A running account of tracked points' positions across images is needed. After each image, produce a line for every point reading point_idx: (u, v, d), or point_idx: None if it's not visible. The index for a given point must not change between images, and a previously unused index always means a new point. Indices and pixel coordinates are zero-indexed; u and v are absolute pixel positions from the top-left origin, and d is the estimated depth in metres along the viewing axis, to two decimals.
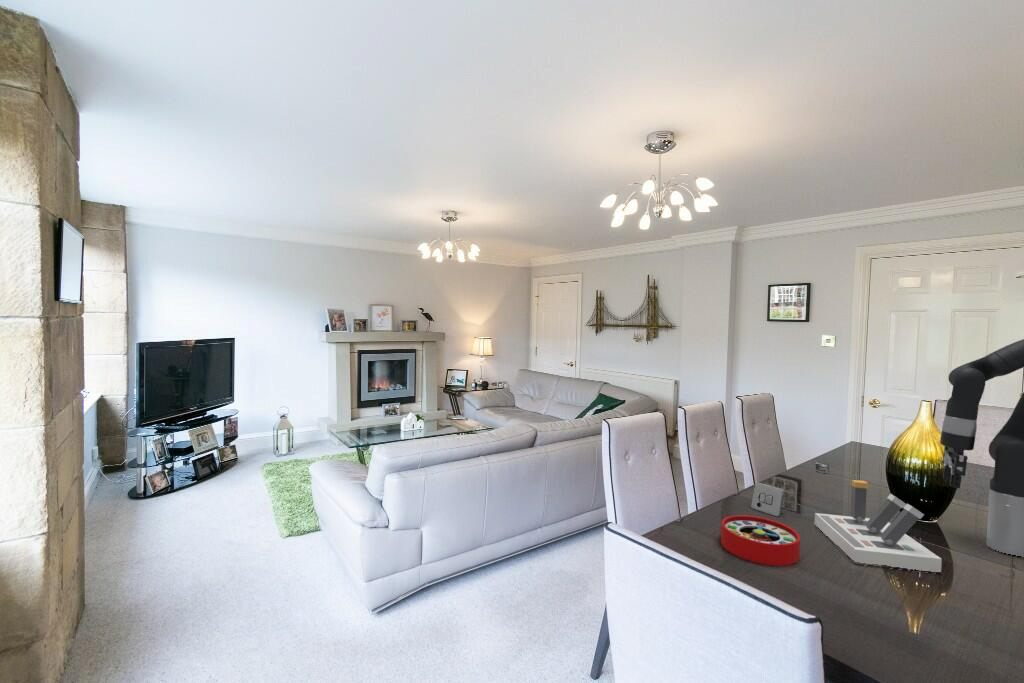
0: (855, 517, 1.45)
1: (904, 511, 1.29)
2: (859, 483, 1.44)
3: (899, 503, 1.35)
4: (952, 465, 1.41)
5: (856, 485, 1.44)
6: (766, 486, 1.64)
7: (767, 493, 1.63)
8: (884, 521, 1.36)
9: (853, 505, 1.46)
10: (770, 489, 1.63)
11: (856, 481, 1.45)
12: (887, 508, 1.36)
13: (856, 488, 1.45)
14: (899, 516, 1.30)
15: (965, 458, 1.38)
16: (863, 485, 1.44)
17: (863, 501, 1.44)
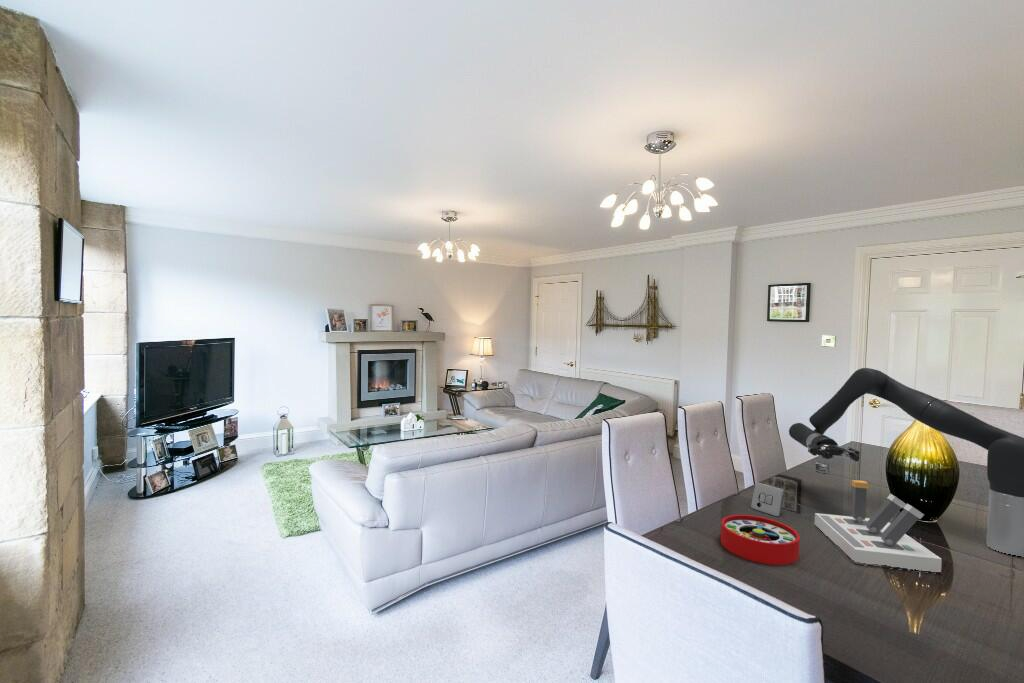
0: (855, 517, 1.45)
1: (904, 511, 1.29)
2: (859, 483, 1.44)
3: (899, 503, 1.35)
4: None
5: (856, 485, 1.44)
6: (766, 486, 1.64)
7: (767, 493, 1.63)
8: (884, 521, 1.36)
9: (853, 505, 1.46)
10: (770, 489, 1.63)
11: (856, 481, 1.45)
12: (887, 508, 1.36)
13: (856, 488, 1.45)
14: (899, 516, 1.30)
15: (808, 445, 1.67)
16: (863, 485, 1.44)
17: (863, 501, 1.44)
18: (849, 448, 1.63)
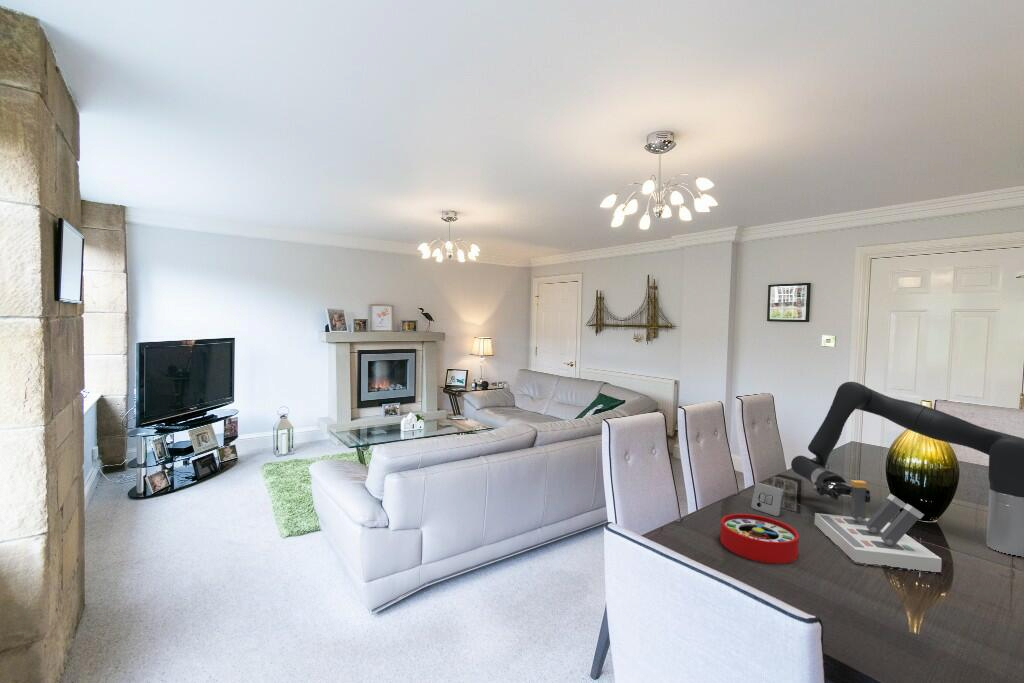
0: (855, 517, 1.45)
1: (904, 511, 1.29)
2: (858, 483, 1.44)
3: (899, 503, 1.35)
4: None
5: (855, 485, 1.45)
6: (766, 486, 1.64)
7: (767, 493, 1.63)
8: (884, 521, 1.36)
9: (853, 505, 1.46)
10: (770, 489, 1.63)
11: (855, 481, 1.45)
12: (887, 508, 1.36)
13: (855, 488, 1.45)
14: (899, 516, 1.30)
15: (814, 483, 1.55)
16: (862, 485, 1.44)
17: (863, 501, 1.44)
18: None
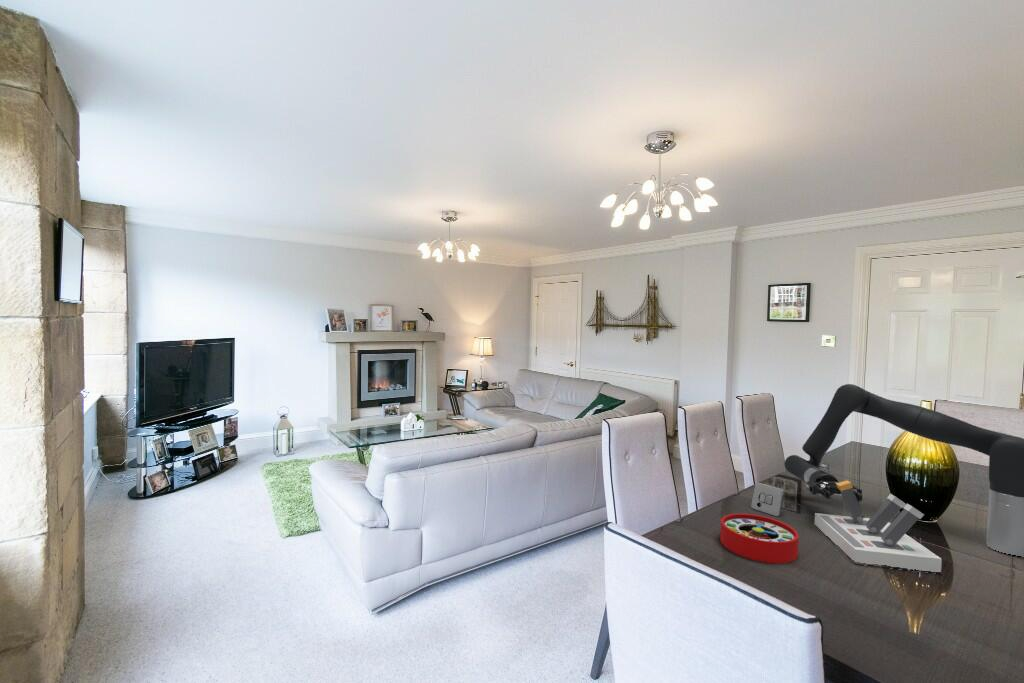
0: (855, 519, 1.45)
1: (904, 511, 1.29)
2: (843, 485, 1.45)
3: (899, 503, 1.35)
4: None
5: (841, 488, 1.45)
6: (766, 486, 1.64)
7: (767, 493, 1.63)
8: (884, 521, 1.36)
9: (848, 507, 1.46)
10: (770, 489, 1.63)
11: (840, 484, 1.46)
12: (887, 508, 1.36)
13: (843, 491, 1.45)
14: (899, 516, 1.30)
15: (807, 483, 1.55)
16: (847, 486, 1.45)
17: (855, 501, 1.45)
18: None
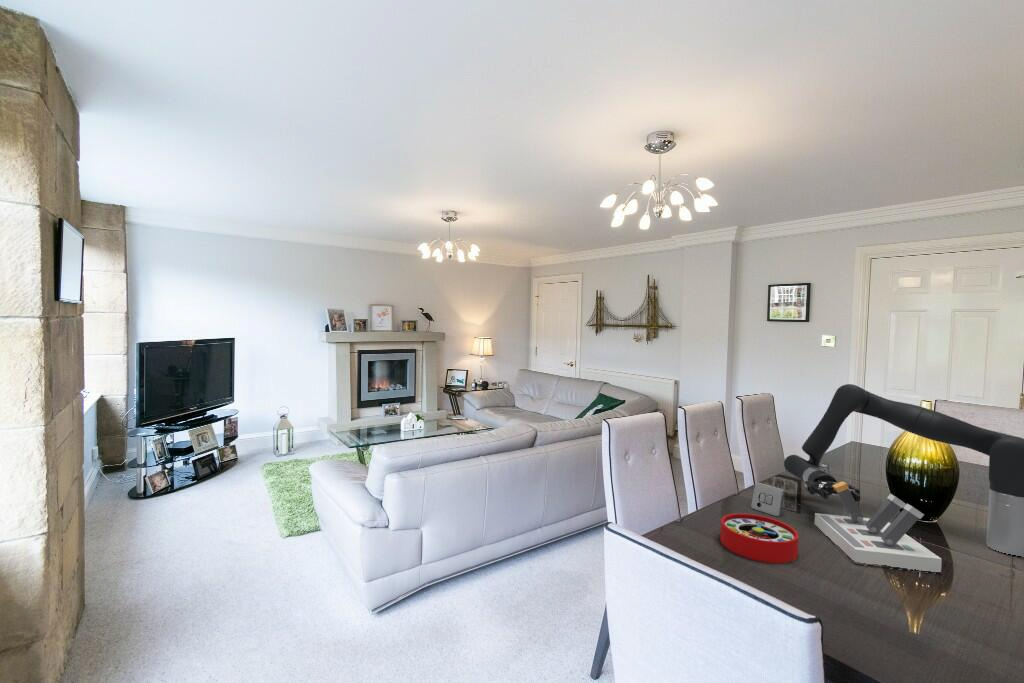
0: (855, 519, 1.45)
1: (904, 511, 1.29)
2: (839, 487, 1.46)
3: (899, 503, 1.35)
4: None
5: (838, 490, 1.46)
6: (766, 486, 1.64)
7: (767, 493, 1.63)
8: (884, 521, 1.36)
9: (847, 508, 1.46)
10: (770, 489, 1.63)
11: (836, 486, 1.47)
12: (887, 508, 1.36)
13: (839, 493, 1.46)
14: (899, 516, 1.30)
15: (805, 482, 1.56)
16: (843, 487, 1.45)
17: (852, 501, 1.45)
18: (849, 486, 1.52)
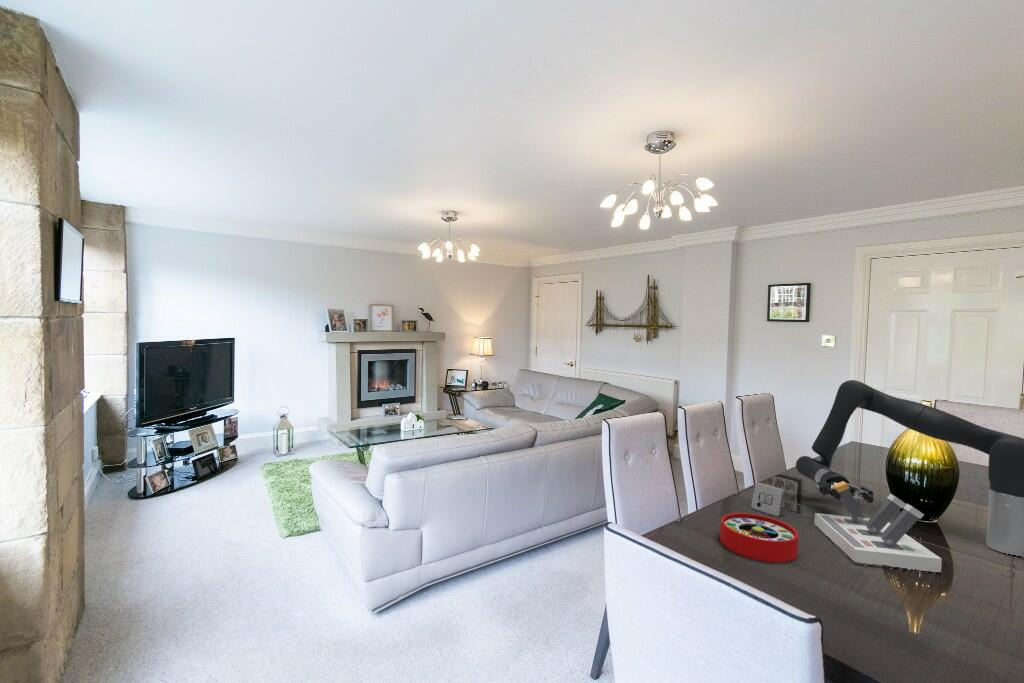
0: (855, 519, 1.45)
1: (904, 511, 1.29)
2: (839, 487, 1.45)
3: (899, 503, 1.35)
4: None
5: (838, 490, 1.46)
6: (766, 486, 1.64)
7: (767, 493, 1.63)
8: (884, 521, 1.36)
9: (847, 508, 1.46)
10: (770, 489, 1.63)
11: (836, 485, 1.47)
12: (887, 508, 1.36)
13: (840, 492, 1.46)
14: (899, 516, 1.30)
15: (817, 483, 1.55)
16: (843, 487, 1.45)
17: (853, 501, 1.45)
18: (862, 487, 1.51)
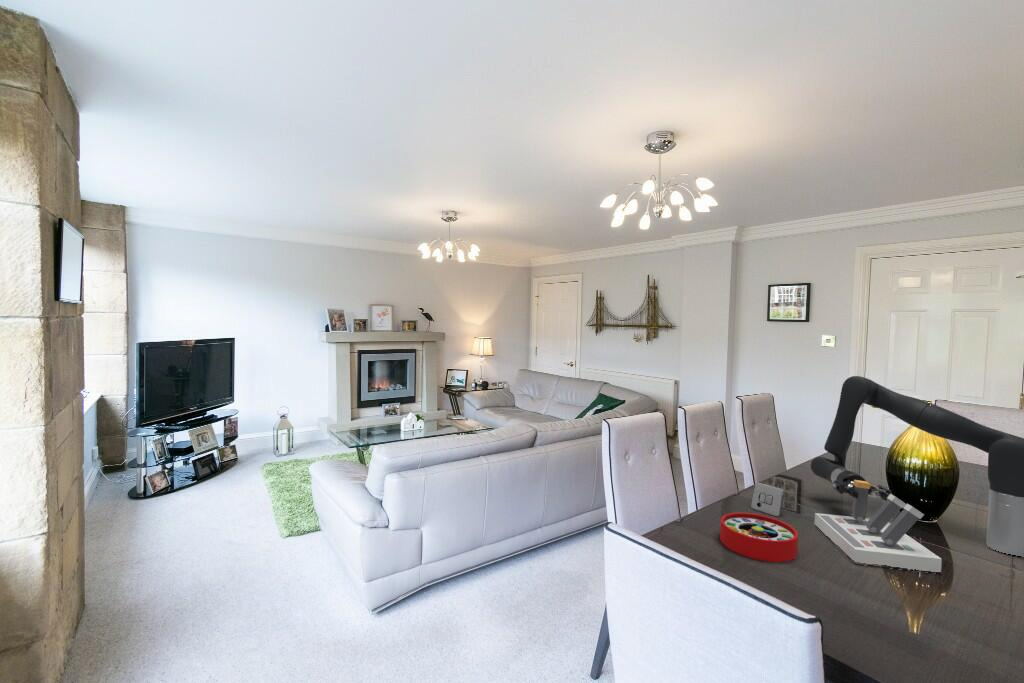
0: (855, 517, 1.45)
1: (904, 511, 1.29)
2: (861, 483, 1.44)
3: (899, 503, 1.35)
4: None
5: (858, 485, 1.44)
6: (766, 486, 1.64)
7: (767, 493, 1.63)
8: (884, 521, 1.36)
9: (854, 505, 1.46)
10: (770, 489, 1.63)
11: (858, 481, 1.45)
12: (887, 508, 1.36)
13: (858, 488, 1.45)
14: (899, 516, 1.30)
15: (833, 482, 1.54)
16: (865, 485, 1.44)
17: (864, 501, 1.44)
18: (879, 486, 1.50)
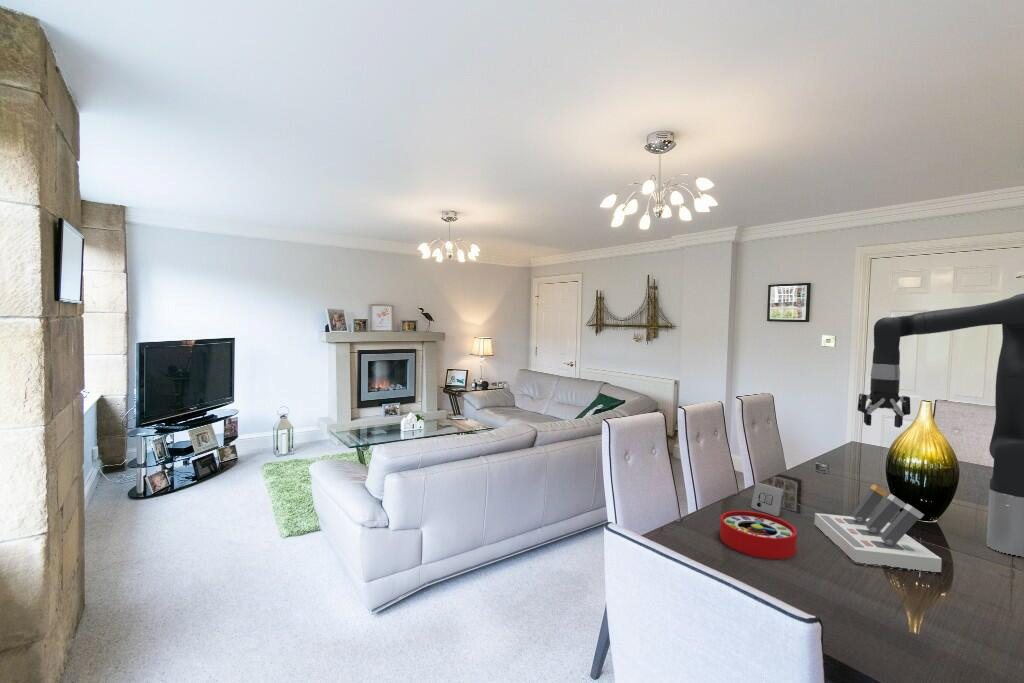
0: (856, 515, 1.45)
1: (904, 511, 1.29)
2: (880, 489, 1.43)
3: (899, 503, 1.35)
4: (868, 405, 1.58)
5: (876, 489, 1.43)
6: (766, 486, 1.64)
7: (767, 493, 1.63)
8: (884, 521, 1.36)
9: (861, 505, 1.45)
10: (770, 489, 1.63)
11: (877, 486, 1.44)
12: (887, 508, 1.36)
13: (874, 492, 1.44)
14: (899, 516, 1.30)
15: (862, 396, 1.57)
16: (882, 492, 1.43)
17: (873, 506, 1.44)
18: (905, 401, 1.54)
